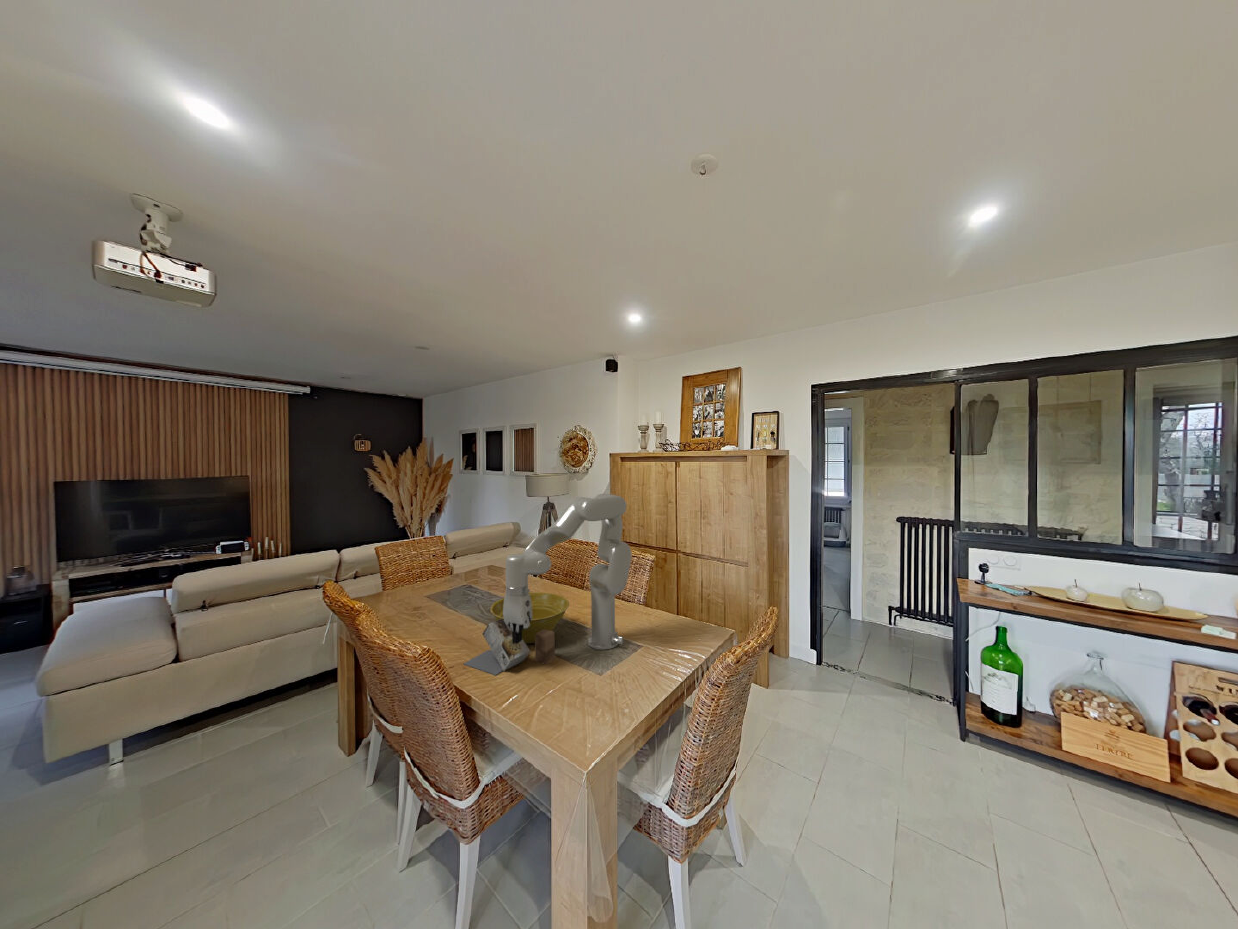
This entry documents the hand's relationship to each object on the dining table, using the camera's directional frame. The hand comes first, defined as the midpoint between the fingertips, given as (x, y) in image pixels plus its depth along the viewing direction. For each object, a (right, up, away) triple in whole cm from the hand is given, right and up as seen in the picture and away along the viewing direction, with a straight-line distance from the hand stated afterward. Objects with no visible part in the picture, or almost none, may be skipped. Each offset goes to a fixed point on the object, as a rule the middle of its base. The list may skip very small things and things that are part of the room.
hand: (517, 641), depth 143 cm
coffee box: (0, -7, +1) cm, 7 cm away
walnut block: (+9, -10, +6) cm, 14 cm away
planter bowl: (-1, -10, +26) cm, 28 cm away
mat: (-10, -10, +5) cm, 15 cm away
